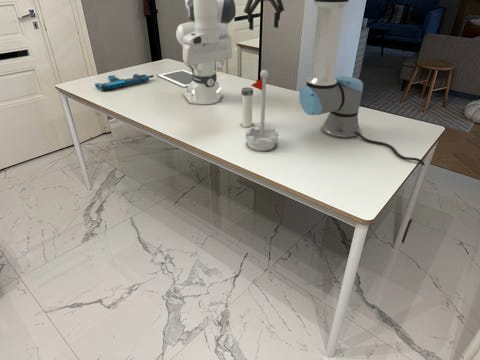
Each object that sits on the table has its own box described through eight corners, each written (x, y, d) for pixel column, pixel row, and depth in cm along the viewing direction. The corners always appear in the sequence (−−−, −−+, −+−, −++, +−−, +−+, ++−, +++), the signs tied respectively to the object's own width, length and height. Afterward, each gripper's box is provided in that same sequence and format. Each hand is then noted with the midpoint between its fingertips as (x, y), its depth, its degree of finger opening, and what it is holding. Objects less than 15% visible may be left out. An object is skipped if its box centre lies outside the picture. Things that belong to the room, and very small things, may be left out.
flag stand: (269, 135, 146) (272, 63, 129) (283, 148, 135) (289, 72, 119) (241, 140, 142) (241, 67, 125) (253, 154, 132) (254, 76, 115)
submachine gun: (139, 68, 225) (158, 74, 208) (140, 74, 226) (158, 80, 210) (87, 78, 206) (103, 86, 189) (89, 84, 208) (104, 92, 191)
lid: (243, 91, 150) (243, 86, 149) (254, 92, 149) (254, 87, 148) (240, 95, 146) (240, 90, 144) (251, 96, 145) (251, 91, 143)
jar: (243, 122, 157) (243, 88, 149) (252, 123, 157) (253, 88, 148) (241, 126, 154) (241, 91, 145) (250, 127, 153) (251, 92, 144)
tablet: (157, 75, 221) (157, 74, 221) (183, 69, 232) (183, 69, 232) (184, 87, 201) (183, 86, 200) (211, 80, 212) (211, 79, 211)
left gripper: (226, 32, 134) (227, 67, 142) (179, 37, 125) (182, 75, 132) (235, 34, 130) (235, 71, 137) (186, 40, 121) (189, 79, 128)
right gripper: (284, -24, 159) (281, 25, 170) (236, -23, 150) (236, 29, 161) (293, -24, 153) (290, 27, 165) (244, -22, 144) (243, 31, 156)
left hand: (209, 73), depth 135 cm, fingers open, 8 cm apart
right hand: (263, 28), depth 163 cm, fingers open, 13 cm apart
